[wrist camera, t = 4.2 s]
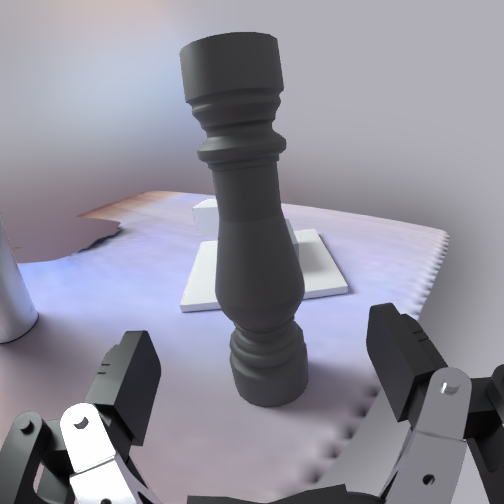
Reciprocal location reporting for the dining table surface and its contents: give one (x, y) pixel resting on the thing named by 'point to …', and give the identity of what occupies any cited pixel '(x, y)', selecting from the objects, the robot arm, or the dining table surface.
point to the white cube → (206, 218)
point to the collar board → (309, 256)
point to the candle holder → (249, 210)
